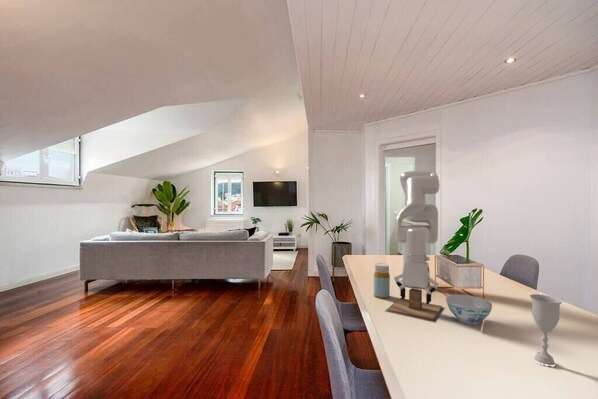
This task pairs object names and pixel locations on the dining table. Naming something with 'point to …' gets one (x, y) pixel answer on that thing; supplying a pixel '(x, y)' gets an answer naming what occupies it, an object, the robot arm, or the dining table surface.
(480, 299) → the chinaware
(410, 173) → the robot arm
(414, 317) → the mat
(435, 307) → the cover
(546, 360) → the chalice
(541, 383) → the dining table surface
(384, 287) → the bottle
